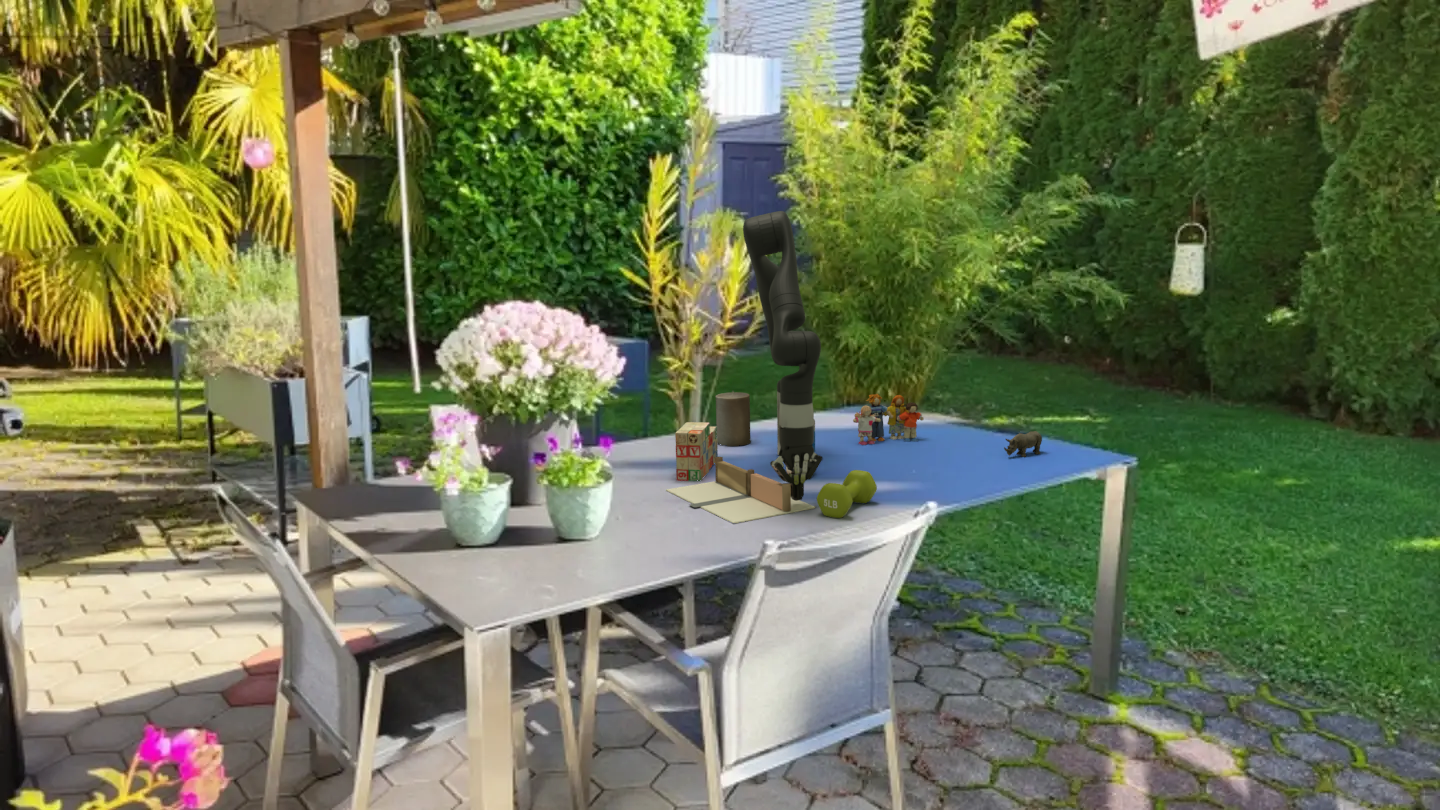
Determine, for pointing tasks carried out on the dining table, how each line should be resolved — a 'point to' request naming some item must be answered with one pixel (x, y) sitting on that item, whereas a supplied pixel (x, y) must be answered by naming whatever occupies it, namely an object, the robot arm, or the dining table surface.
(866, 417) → the doll family
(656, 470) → the dining table surface
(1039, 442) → the rhino figurine
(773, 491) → the gate
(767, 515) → the card
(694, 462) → the stack of blocks
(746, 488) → the wooden fence panel
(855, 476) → the dumbbell
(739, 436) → the pillar candle
